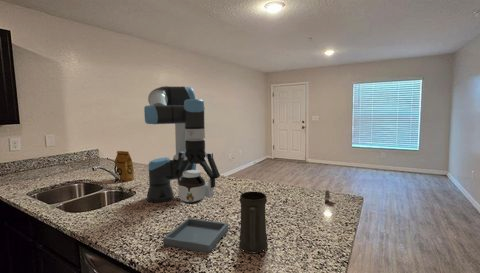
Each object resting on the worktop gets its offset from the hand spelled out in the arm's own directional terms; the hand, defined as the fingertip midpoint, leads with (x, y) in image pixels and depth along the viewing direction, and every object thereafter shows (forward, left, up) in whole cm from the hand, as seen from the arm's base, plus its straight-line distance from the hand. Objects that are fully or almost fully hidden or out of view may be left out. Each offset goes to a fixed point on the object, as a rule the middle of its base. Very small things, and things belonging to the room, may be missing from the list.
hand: (196, 194), depth 101 cm
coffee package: (-93, +63, -18) cm, 114 cm away
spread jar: (0, 0, -3) cm, 3 cm away
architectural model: (+50, +57, -19) cm, 78 cm away
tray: (0, 0, -18) cm, 18 cm away
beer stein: (+24, -2, -18) cm, 30 cm away
